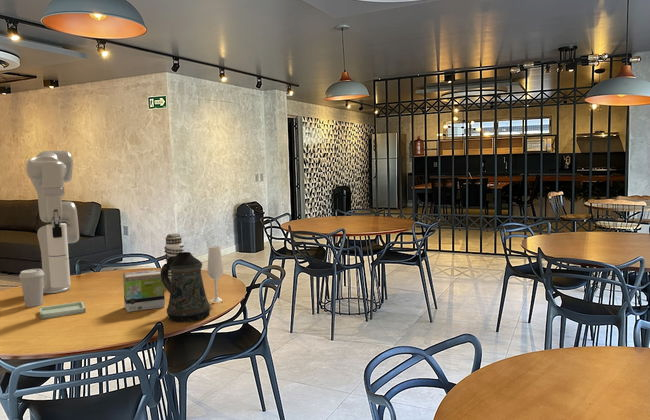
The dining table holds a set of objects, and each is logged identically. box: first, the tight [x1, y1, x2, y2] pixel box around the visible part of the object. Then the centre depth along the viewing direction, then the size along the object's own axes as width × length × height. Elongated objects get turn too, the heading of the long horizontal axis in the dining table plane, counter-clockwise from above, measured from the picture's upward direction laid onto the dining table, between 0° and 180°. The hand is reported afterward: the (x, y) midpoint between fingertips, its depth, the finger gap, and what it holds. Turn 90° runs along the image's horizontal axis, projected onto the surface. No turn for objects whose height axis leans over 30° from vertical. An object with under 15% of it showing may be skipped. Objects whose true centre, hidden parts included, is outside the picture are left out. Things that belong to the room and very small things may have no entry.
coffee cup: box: [18, 268, 44, 308], centre depth 215 cm, size 10×10×15 cm
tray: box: [39, 300, 86, 320], centre depth 204 cm, size 12×16×2 cm
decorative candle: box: [164, 233, 185, 281], centre depth 247 cm, size 9×9×25 cm
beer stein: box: [160, 251, 211, 323], centre depth 194 cm, size 16×19×25 cm
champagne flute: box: [206, 245, 224, 302], centre depth 214 cm, size 7×7×24 cm
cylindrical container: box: [45, 222, 71, 288], centre depth 202 cm, size 7×7×25 cm
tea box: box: [122, 269, 166, 313], centre depth 208 cm, size 15×10×15 cm, turn 117°
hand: (57, 235), depth 201 cm, fingers closed on cylindrical container, 7 cm apart
